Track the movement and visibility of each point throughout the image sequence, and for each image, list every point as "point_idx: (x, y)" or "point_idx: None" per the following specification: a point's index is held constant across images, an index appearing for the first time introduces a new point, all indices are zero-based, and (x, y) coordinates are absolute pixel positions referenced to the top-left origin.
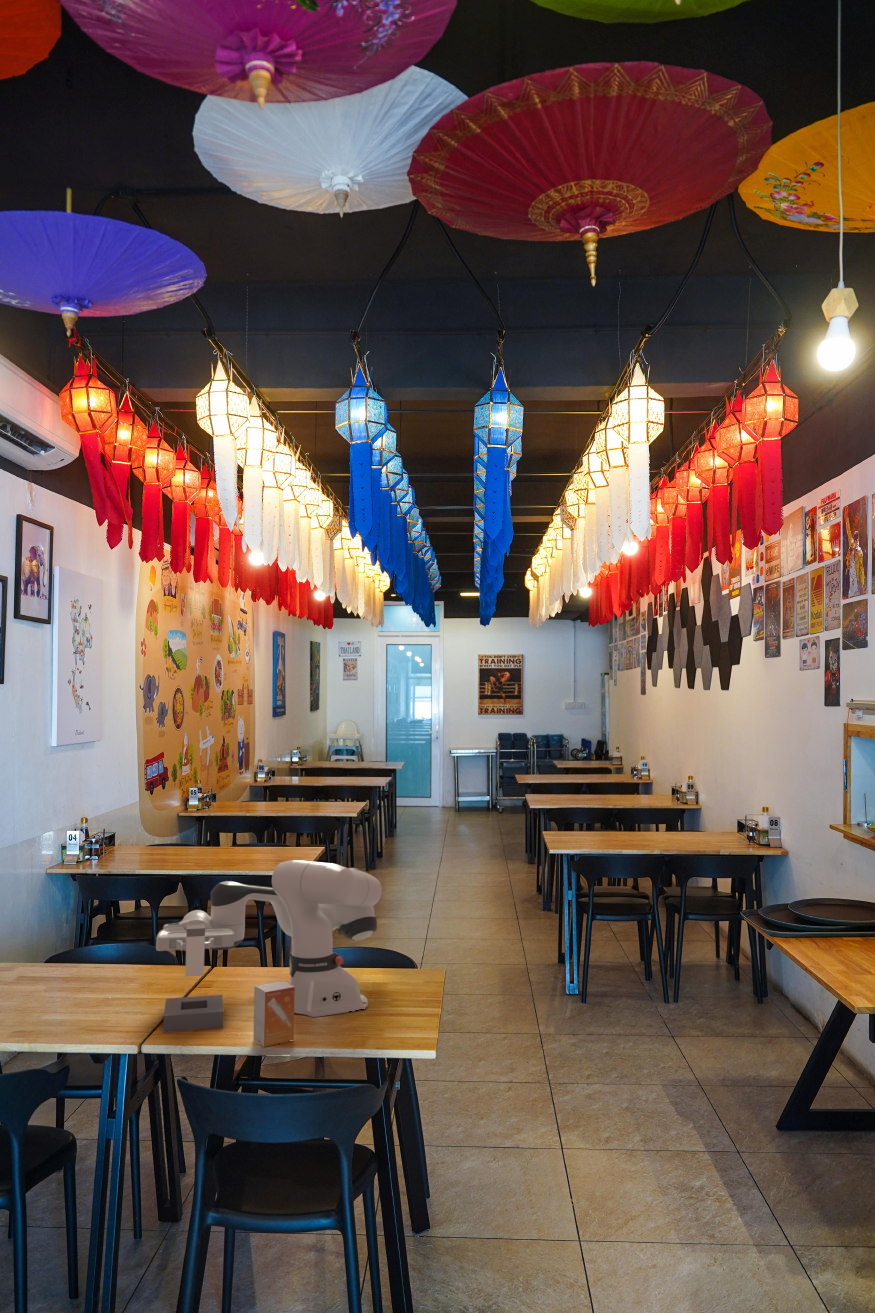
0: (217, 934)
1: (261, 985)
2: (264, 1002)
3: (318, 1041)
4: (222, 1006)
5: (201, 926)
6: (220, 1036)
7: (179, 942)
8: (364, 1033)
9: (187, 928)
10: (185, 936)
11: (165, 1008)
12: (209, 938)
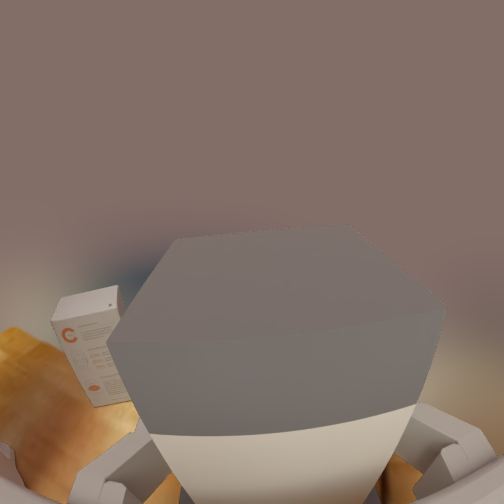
0: (19, 489)
1: (102, 307)
2: (123, 303)
3: (69, 367)
4: (181, 498)
5: (195, 267)
6: None
7: (435, 410)
8: (13, 369)
9: (348, 229)
10: (440, 496)
11: (377, 501)
12: (119, 493)
